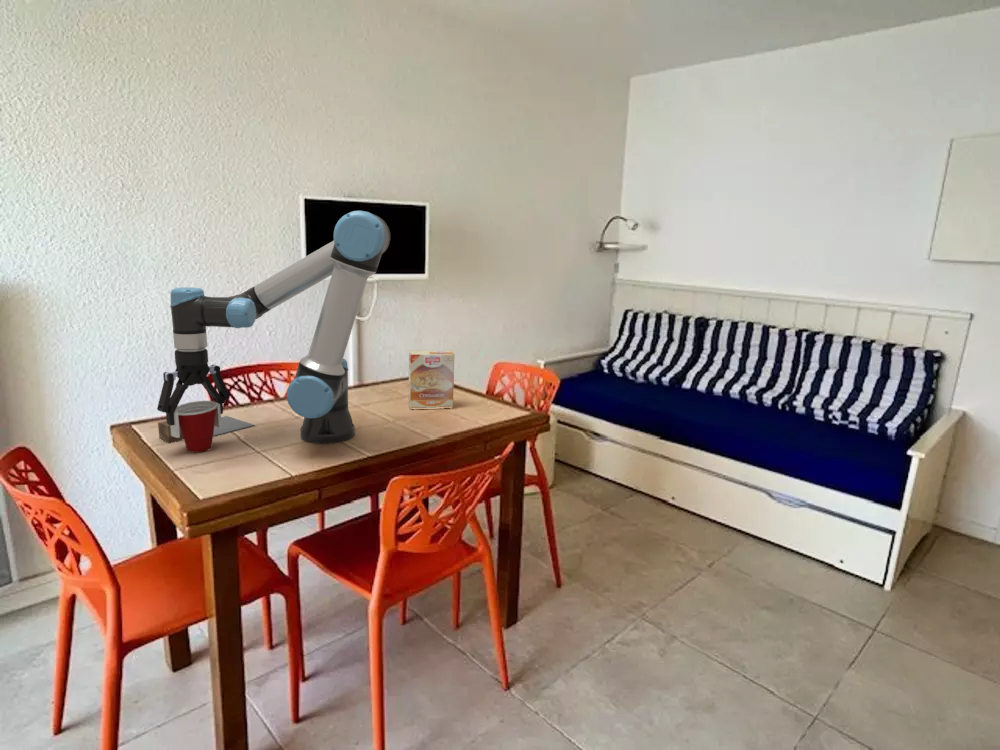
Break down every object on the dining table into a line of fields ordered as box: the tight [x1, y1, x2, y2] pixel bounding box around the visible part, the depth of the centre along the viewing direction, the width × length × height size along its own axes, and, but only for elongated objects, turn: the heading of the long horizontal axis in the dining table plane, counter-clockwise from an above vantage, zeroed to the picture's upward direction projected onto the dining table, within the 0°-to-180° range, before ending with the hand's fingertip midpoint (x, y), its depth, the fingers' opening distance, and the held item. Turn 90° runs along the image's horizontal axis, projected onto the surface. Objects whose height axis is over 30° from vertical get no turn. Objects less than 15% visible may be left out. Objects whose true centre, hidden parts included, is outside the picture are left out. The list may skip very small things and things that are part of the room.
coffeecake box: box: [408, 350, 455, 410], centre depth 203 cm, size 15×7×20 cm, turn 104°
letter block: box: [157, 419, 184, 444], centre depth 162 cm, size 5×5×5 cm
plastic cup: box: [175, 400, 218, 453], centre depth 155 cm, size 11×11×12 cm
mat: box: [213, 415, 255, 438], centre depth 174 cm, size 14×14×1 cm
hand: (197, 431), depth 155 cm, fingers closed on plastic cup, 11 cm apart
